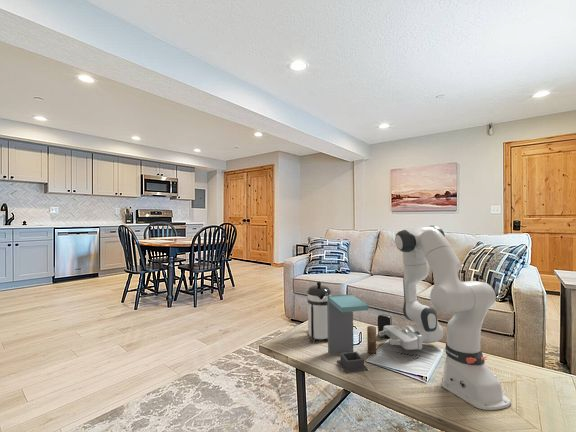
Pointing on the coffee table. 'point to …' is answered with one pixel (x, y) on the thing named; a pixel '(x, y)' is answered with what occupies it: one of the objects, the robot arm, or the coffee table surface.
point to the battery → (384, 322)
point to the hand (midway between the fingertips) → (384, 337)
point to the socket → (351, 362)
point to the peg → (371, 340)
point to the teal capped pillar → (342, 322)
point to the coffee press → (318, 312)
